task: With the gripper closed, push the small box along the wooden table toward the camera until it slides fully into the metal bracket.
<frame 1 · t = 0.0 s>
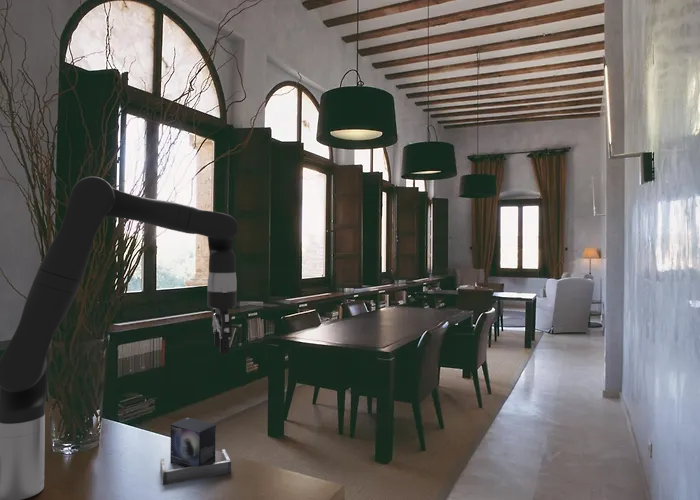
hand: (221, 350, 134), 29 cm above the table, tool pointing down, fingers open, 8 cm apart
small box: (192, 464, 131), on the table
metal bracket: (195, 471, 126), on the table
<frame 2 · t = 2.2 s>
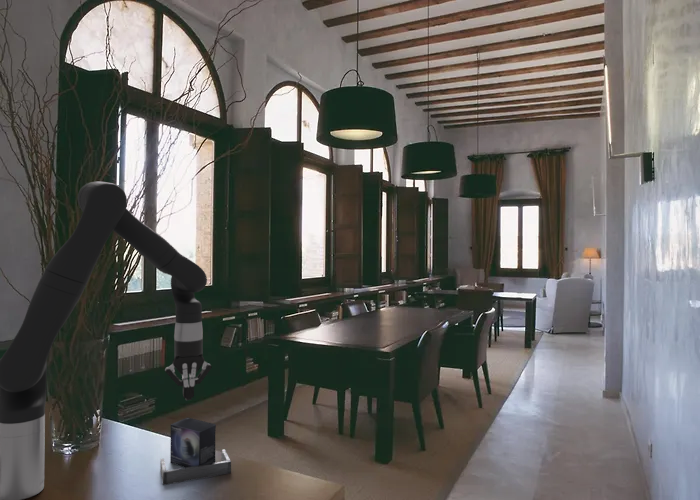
hand: (188, 399, 141), 14 cm above the table, tool pointing down, fingers closed
nothing on the table moved.
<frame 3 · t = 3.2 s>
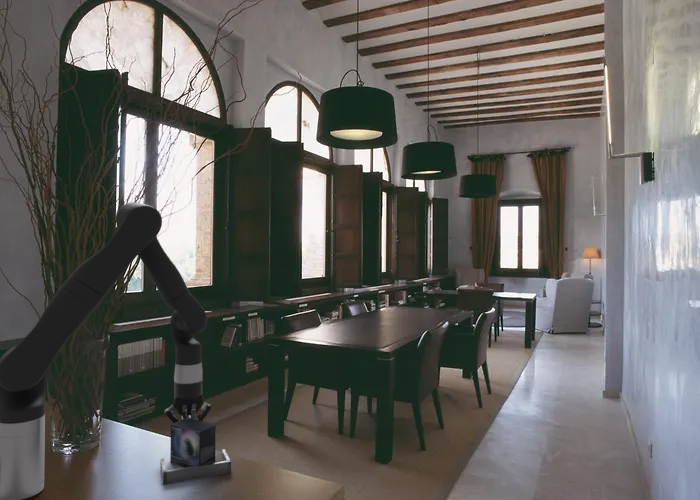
hand: (188, 440, 141), 2 cm above the table, tool pointing down, fingers closed
nothing on the table moved.
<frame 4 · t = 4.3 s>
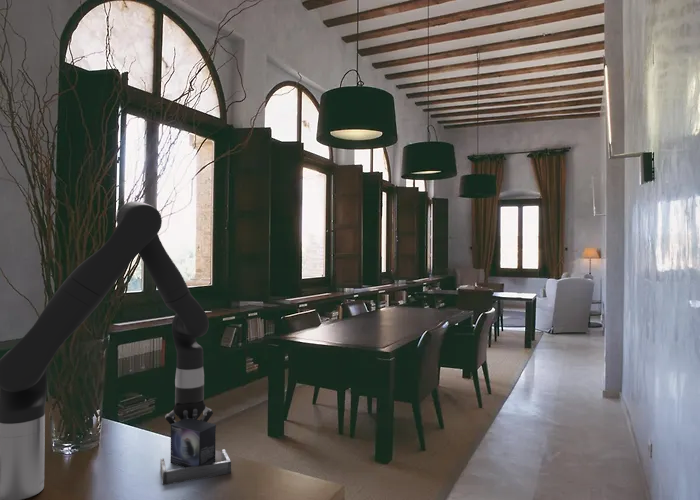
hand: (188, 446, 137), 2 cm above the table, tool pointing down, fingers closed
small box: (192, 464, 131), on the table, touching gripper
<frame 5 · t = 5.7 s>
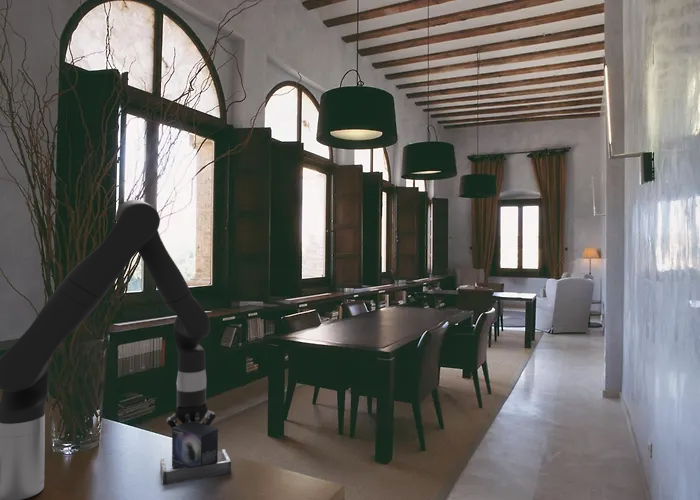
hand: (191, 449, 135), 2 cm above the table, tool pointing down, fingers closed
small box: (194, 468, 129), on the table, touching gripper, metal bracket
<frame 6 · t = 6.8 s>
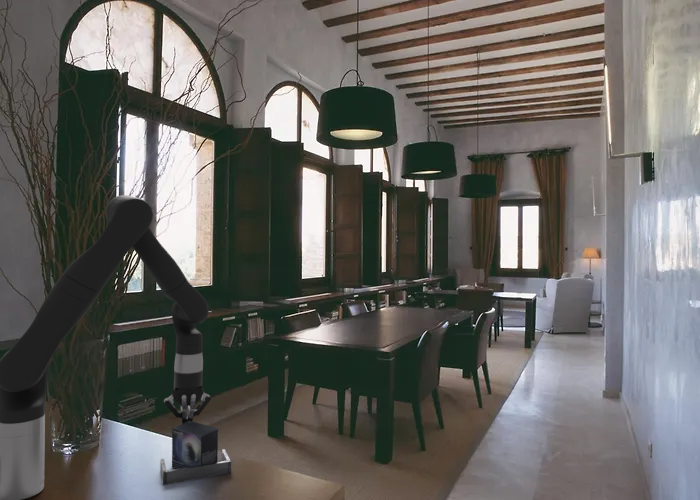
hand: (186, 430, 139), 5 cm above the table, tool pointing down, fingers closed
small box: (194, 469, 129), on the table
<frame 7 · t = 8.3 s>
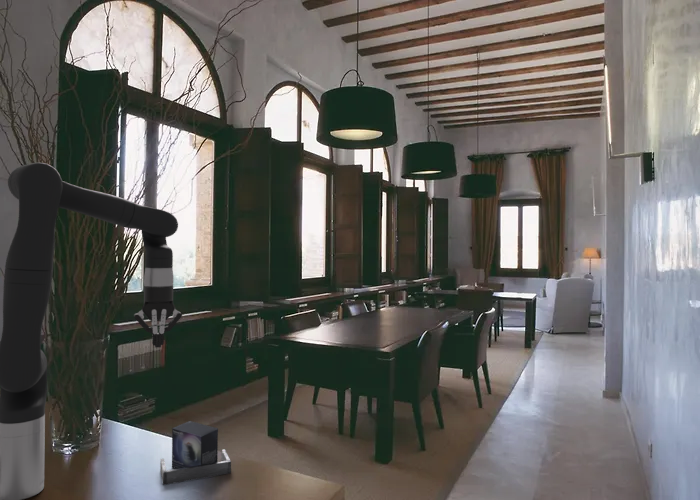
hand: (157, 346, 138), 29 cm above the table, tool pointing down, fingers closed
nothing on the table moved.
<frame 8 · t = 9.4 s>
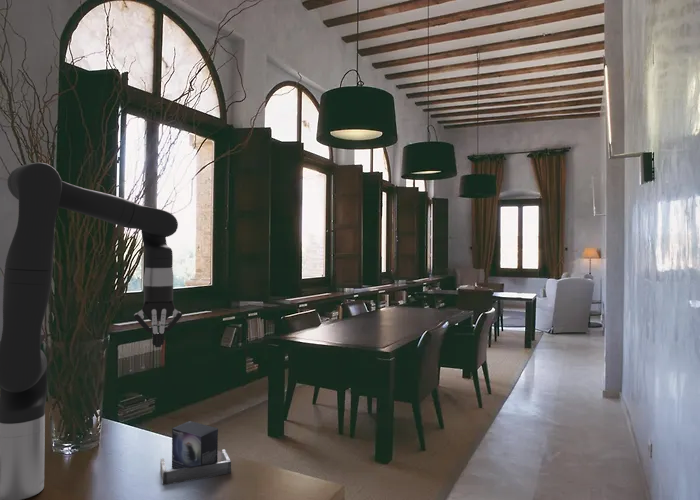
hand: (158, 346, 138), 29 cm above the table, tool pointing down, fingers closed
nothing on the table moved.
at the end: small box 1.6 cm from the target spot, on the table; small box tilted 0° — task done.
